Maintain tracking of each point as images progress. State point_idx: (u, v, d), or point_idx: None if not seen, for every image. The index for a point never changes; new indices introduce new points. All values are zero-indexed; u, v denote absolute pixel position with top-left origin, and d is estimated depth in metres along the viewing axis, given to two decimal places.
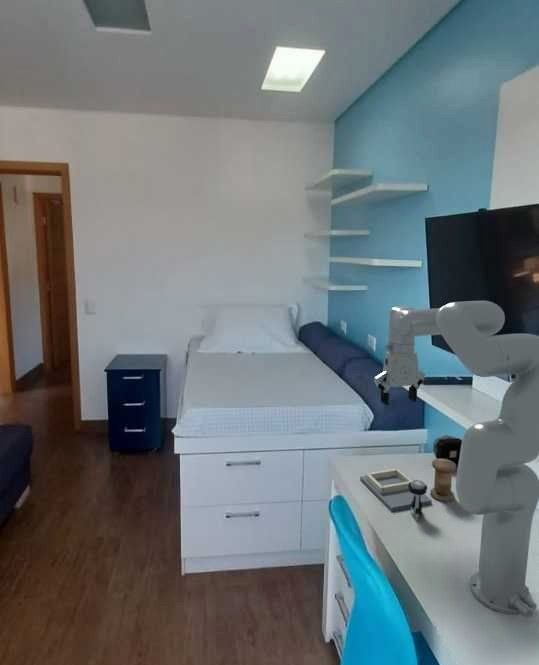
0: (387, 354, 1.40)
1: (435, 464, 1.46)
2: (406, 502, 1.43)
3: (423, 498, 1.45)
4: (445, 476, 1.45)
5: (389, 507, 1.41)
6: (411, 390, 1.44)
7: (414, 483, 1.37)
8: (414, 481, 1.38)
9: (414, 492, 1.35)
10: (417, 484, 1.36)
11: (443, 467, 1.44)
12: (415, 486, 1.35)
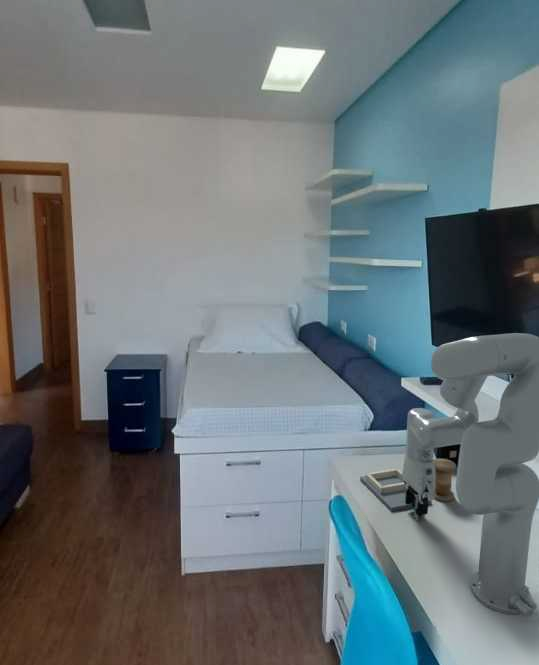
0: (427, 464, 1.31)
1: (435, 464, 1.46)
2: None
3: None
4: (445, 476, 1.45)
5: (389, 507, 1.41)
6: (411, 494, 1.40)
7: None
8: None
9: (414, 492, 1.35)
10: None
11: (443, 467, 1.44)
12: None
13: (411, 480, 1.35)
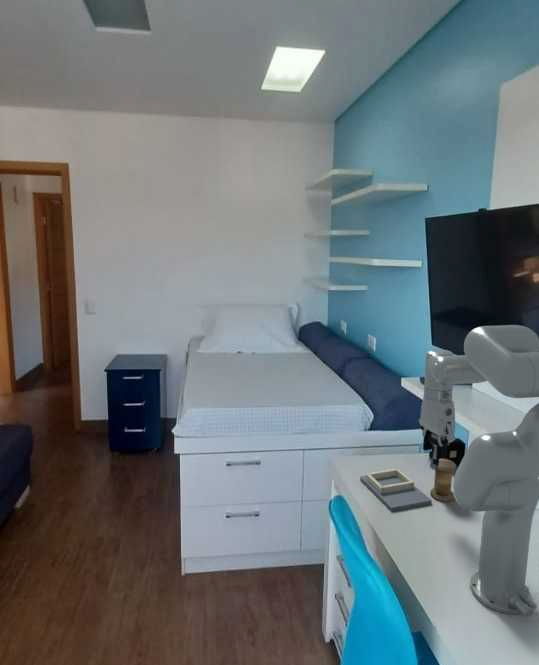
0: (447, 404, 1.28)
1: None
2: (406, 502, 1.43)
3: (423, 498, 1.45)
4: (445, 476, 1.45)
5: (389, 507, 1.41)
6: None
7: (435, 434, 1.34)
8: None
9: (434, 442, 1.33)
10: None
11: (443, 467, 1.44)
12: (435, 437, 1.33)
13: (429, 424, 1.33)
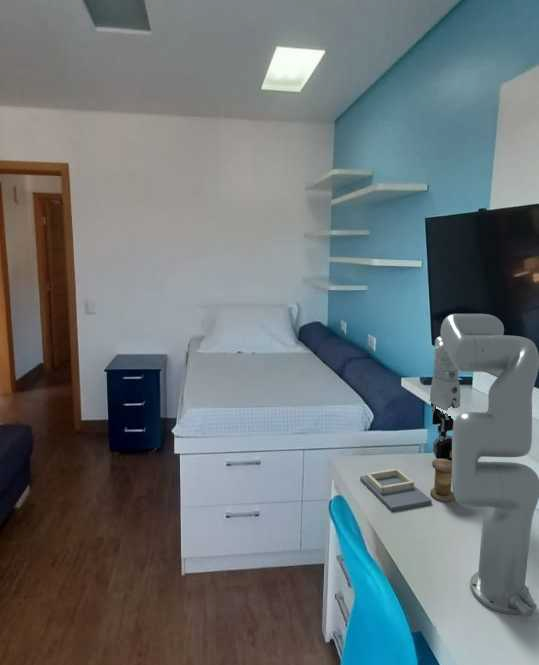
0: (453, 383, 1.48)
1: (435, 464, 1.46)
2: (406, 502, 1.43)
3: (423, 498, 1.45)
4: (445, 476, 1.45)
5: (389, 507, 1.41)
6: None
7: None
8: None
9: (442, 417, 1.53)
10: None
11: (443, 467, 1.44)
12: None
13: (438, 400, 1.52)
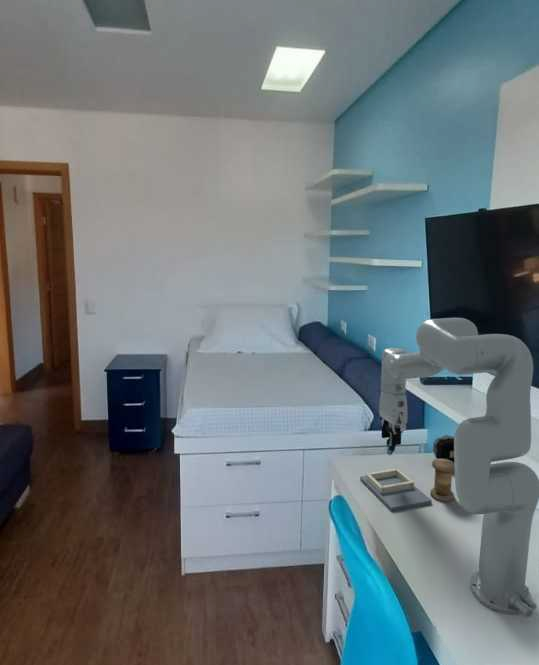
0: (399, 396, 1.44)
1: (435, 464, 1.46)
2: (406, 502, 1.43)
3: (423, 498, 1.45)
4: (445, 476, 1.45)
5: (389, 507, 1.41)
6: None
7: None
8: None
9: (389, 431, 1.49)
10: None
11: (443, 467, 1.44)
12: (391, 425, 1.49)
13: (385, 414, 1.49)
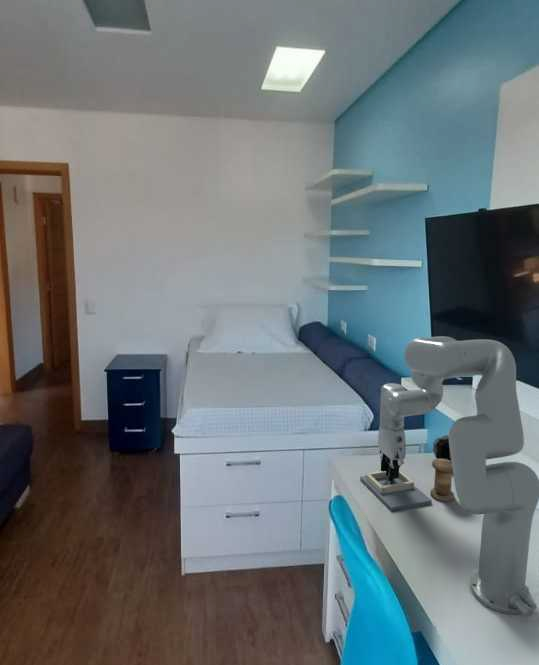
0: (398, 432, 1.46)
1: (435, 464, 1.46)
2: (406, 502, 1.43)
3: (423, 498, 1.45)
4: (445, 476, 1.45)
5: (389, 507, 1.41)
6: (386, 462, 1.55)
7: None
8: None
9: (389, 462, 1.51)
10: None
11: (443, 467, 1.44)
12: None
13: (384, 448, 1.51)
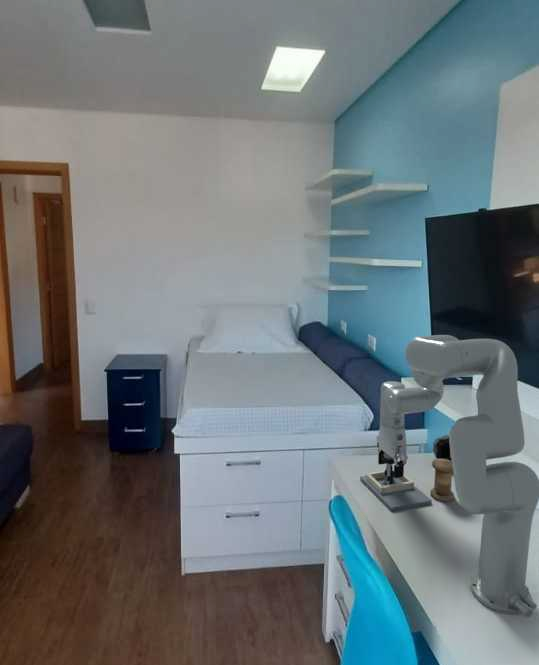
0: (398, 430, 1.46)
1: (435, 464, 1.46)
2: (406, 502, 1.43)
3: (423, 498, 1.45)
4: (445, 476, 1.45)
5: (389, 507, 1.41)
6: None
7: (386, 454, 1.53)
8: None
9: (385, 461, 1.52)
10: None
11: (443, 467, 1.44)
12: (386, 456, 1.52)
13: (384, 447, 1.51)
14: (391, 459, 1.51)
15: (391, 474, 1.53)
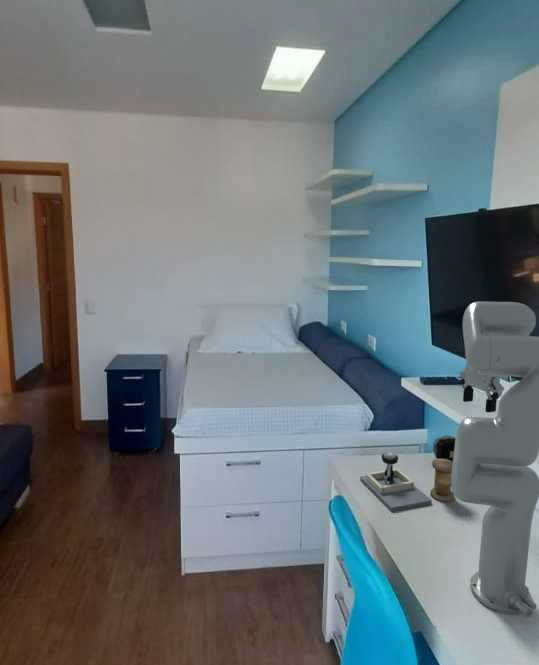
0: None
1: (435, 464, 1.46)
2: (406, 502, 1.43)
3: (423, 498, 1.45)
4: (445, 476, 1.45)
5: (389, 507, 1.41)
6: (469, 391, 1.45)
7: (386, 454, 1.53)
8: (387, 452, 1.54)
9: (386, 461, 1.52)
10: (389, 455, 1.52)
11: (443, 467, 1.44)
12: (387, 456, 1.52)
13: (474, 380, 1.39)
14: (391, 459, 1.51)
15: (391, 474, 1.53)
